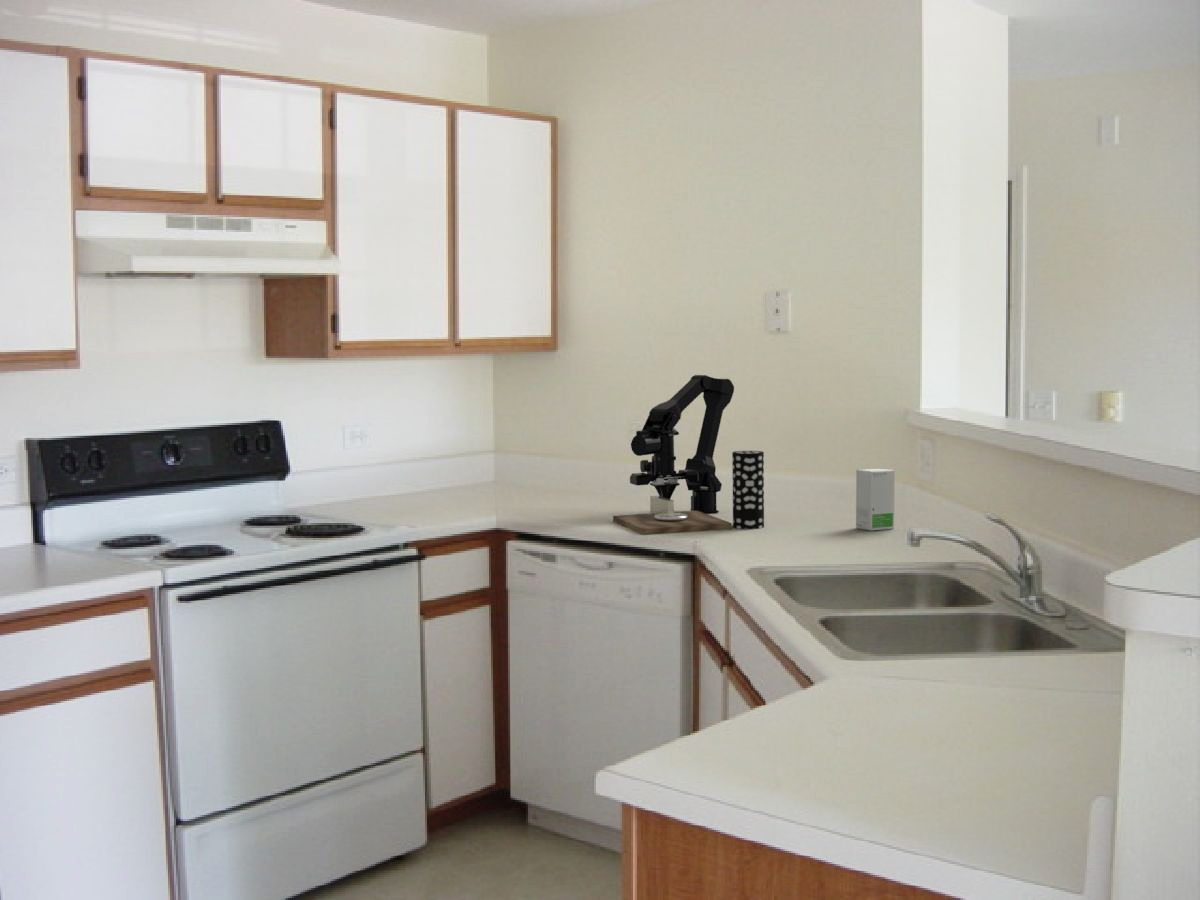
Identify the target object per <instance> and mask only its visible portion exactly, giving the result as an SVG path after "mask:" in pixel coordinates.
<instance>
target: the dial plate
mask: <svg viewBox="0 0 1200 900" xmlns="http://www.w3.org/2000/svg"><path fill="white" fill-rule="evenodd" d="M674 513H682V514H687V515H688V518H687V519H685V520H678V521H662V520H656V519H654V515H655V514H652V513H638V514H623V515H622V514H621V515H612V521H613V522H614V523H616V524H619V525H621V526H622V527H625V528H627V529H629V530H631V531H633V532H636V533H637V534H638V533H639V534H640V535H642V536H643V535H659V534H671V533H672V534H673V533H688V532H703V531H716V530H729V529H730V530H732V529H733V528H732V527H733V522H730V521H727V520H724V519H721V518H718V517H716V516H714V515H712V514H711V515H710V514H709V513H702V512H700V511H690V510H686V511H683V510H682V511H674Z"/></svg>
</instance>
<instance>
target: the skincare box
mask: <svg viewBox="0 0 1200 900" xmlns="http://www.w3.org/2000/svg"><path fill="white" fill-rule="evenodd" d="M855 473H856V478H855V479H856V480H855V482H856V485H855V486H856V488H855V490H856V491H855V492H856V493H855V497H856V498H855V500H856V501H855V508H856V509H855V528H856V529H860V530H864V531H869V532H870V531H881V530H882V531H883V530H893V529H895V469H883V468H866V469H865V468H864V469H856V470H855Z"/></svg>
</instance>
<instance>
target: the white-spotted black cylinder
mask: <svg viewBox="0 0 1200 900" xmlns="http://www.w3.org/2000/svg"><path fill="white" fill-rule="evenodd" d="M731 454H732V527H733V528H735V529H739V528H740V529H742V530H757V529H762V528H765V475H764V473H765V467H764V466H765V459H764V458H765V455H764V451H761V450H737V451H736V450H735V451H733V452H732V453H731Z"/></svg>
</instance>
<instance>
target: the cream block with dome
mask: <svg viewBox="0 0 1200 900" xmlns="http://www.w3.org/2000/svg"><path fill="white" fill-rule="evenodd" d="M649 500H650V501H649V502H650V503H649V504H650V505H649V506H650V507H649V509H650V513H652V514H655V515H654V519H656V520H662V521H678V520H685V519H687V518H688V515H687V514H682V513H674V512H675V511H674V510H675V506H674V505H675V502H674V500H673V499H671V498H670V499H667V498H663V497H660V496H659V495H650V498H649ZM650 513H649V514H650Z"/></svg>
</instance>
